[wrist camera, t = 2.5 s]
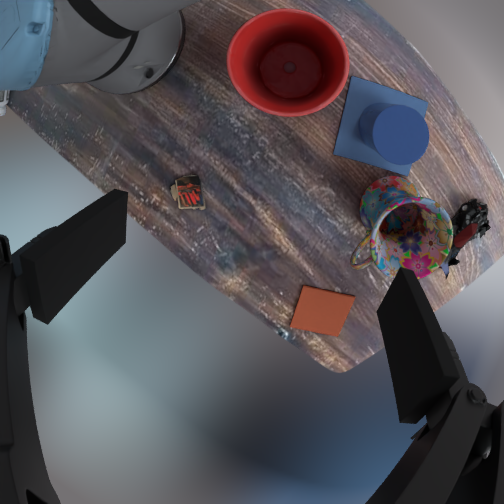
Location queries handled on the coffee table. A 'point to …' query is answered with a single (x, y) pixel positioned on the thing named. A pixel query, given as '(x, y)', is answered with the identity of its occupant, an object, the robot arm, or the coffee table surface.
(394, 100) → the blue mat
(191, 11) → the coffee table surface
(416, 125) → the blue tin
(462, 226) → the toy car
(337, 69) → the flower pot
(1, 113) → the pill bottle
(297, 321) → the rust mat
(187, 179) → the matchbox
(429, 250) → the mug
